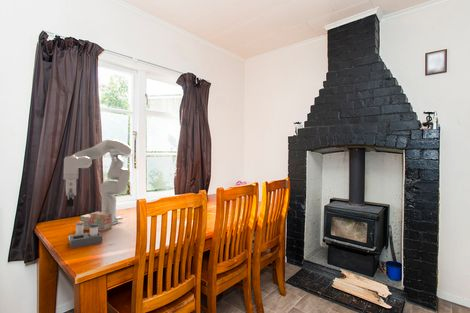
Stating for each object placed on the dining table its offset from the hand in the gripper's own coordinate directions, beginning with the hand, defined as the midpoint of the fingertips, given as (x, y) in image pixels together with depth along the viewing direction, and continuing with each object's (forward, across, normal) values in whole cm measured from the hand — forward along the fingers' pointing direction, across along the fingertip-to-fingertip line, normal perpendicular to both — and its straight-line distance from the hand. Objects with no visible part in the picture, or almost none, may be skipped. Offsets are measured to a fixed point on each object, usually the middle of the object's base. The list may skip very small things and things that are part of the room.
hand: (70, 204), depth 152 cm
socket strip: (+21, -18, -8) cm, 28 cm away
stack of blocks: (+21, +11, -15) cm, 28 cm away
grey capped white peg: (+19, -18, -11) cm, 28 cm away
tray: (+21, -5, -5) cm, 22 cm away
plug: (+20, -5, -5) cm, 21 cm away
